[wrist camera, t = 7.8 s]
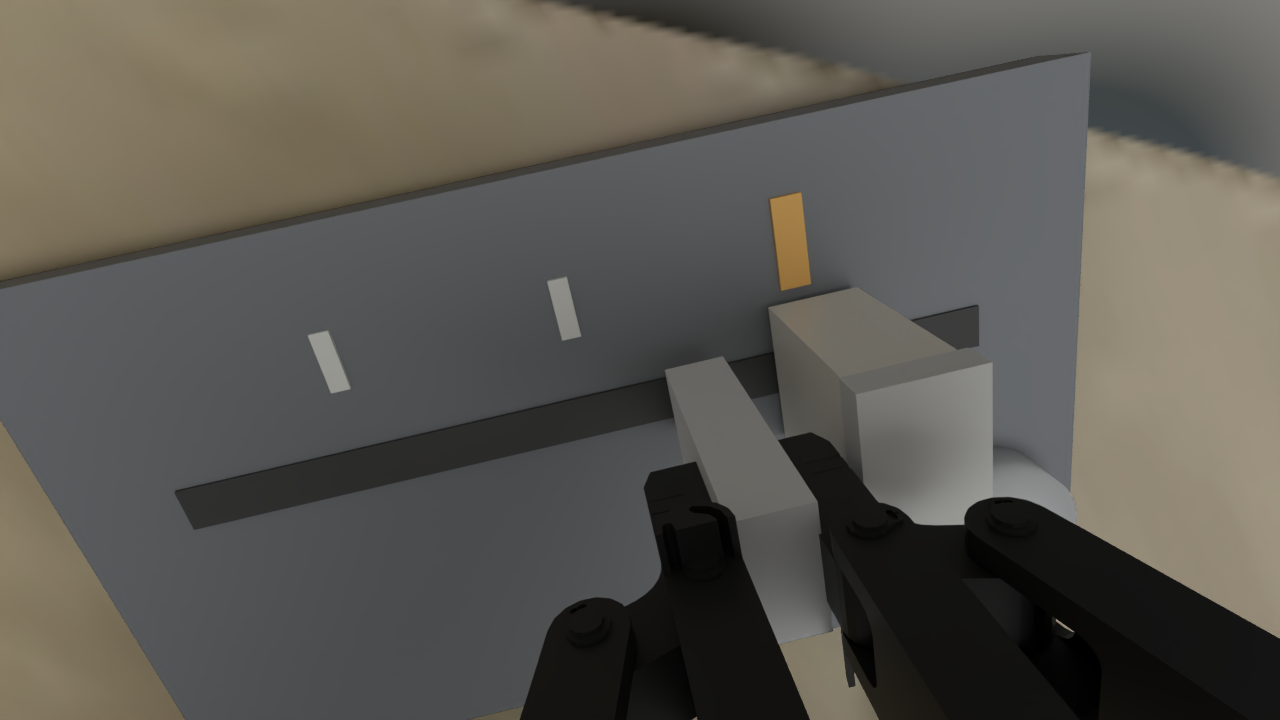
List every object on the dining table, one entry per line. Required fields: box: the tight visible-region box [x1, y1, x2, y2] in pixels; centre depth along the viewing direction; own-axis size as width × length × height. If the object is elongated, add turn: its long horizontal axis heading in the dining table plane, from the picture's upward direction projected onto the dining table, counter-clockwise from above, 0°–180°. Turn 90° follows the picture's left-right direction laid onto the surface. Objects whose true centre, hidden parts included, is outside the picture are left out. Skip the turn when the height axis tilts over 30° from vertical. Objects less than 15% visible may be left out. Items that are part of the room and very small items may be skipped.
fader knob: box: [768, 287, 993, 525], centre depth 16 cm, size 3×4×6 cm, turn 11°
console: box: [0, 52, 1091, 720], centre depth 19 cm, size 28×16×4 cm, turn 101°
